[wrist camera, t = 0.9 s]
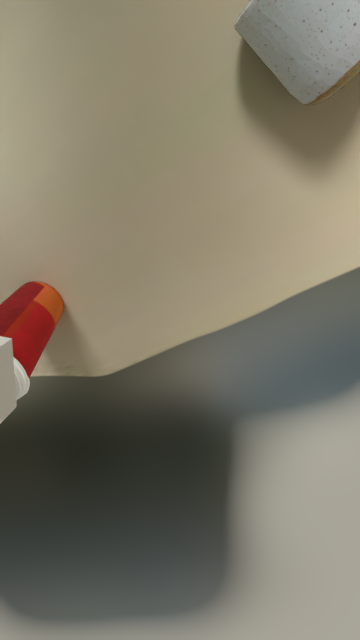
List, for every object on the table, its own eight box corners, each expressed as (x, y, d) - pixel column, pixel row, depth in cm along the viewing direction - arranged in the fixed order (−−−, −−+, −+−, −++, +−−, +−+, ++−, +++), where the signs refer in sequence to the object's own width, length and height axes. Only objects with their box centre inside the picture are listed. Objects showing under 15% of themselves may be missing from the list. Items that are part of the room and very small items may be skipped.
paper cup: (3, 311, 42) (-72, 394, 31) (16, 261, 38) (-64, 335, 27) (63, 336, 44) (13, 423, 32) (81, 291, 40) (32, 373, 28)
